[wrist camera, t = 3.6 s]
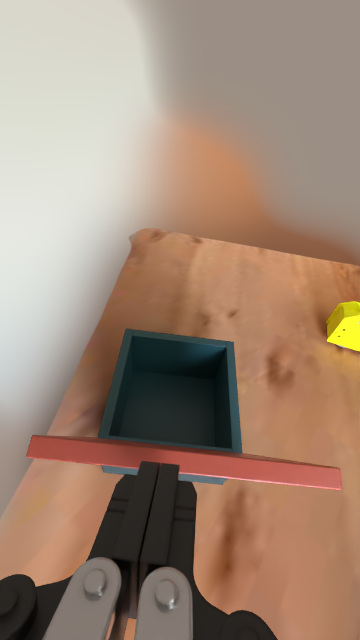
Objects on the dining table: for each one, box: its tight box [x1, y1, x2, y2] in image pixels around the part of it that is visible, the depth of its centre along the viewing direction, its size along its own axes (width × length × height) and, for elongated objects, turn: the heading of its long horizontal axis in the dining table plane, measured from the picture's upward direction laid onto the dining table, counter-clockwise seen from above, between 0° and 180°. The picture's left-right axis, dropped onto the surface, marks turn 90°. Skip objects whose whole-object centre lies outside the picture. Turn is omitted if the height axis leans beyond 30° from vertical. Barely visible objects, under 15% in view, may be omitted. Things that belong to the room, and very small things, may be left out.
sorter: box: [98, 329, 242, 485], centre depth 35 cm, size 14×14×9 cm
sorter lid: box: [26, 435, 342, 490], centre depth 20 cm, size 15×14×1 cm
